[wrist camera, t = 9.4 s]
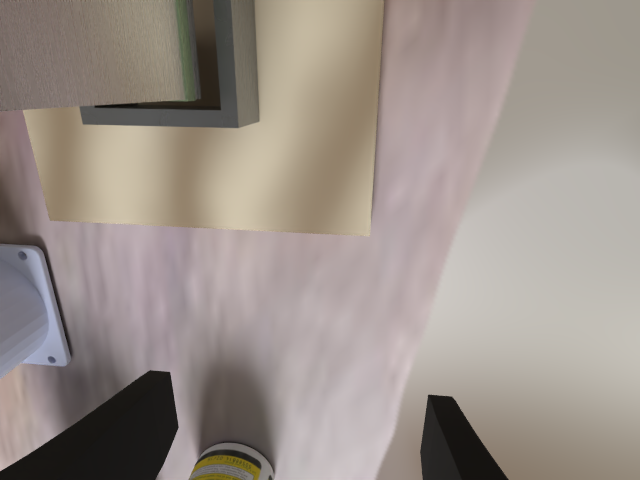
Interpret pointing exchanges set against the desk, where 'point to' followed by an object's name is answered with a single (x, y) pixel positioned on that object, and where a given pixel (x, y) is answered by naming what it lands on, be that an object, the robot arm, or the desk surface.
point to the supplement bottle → (231, 464)
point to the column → (96, 53)
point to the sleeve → (234, 81)
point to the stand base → (238, 136)
